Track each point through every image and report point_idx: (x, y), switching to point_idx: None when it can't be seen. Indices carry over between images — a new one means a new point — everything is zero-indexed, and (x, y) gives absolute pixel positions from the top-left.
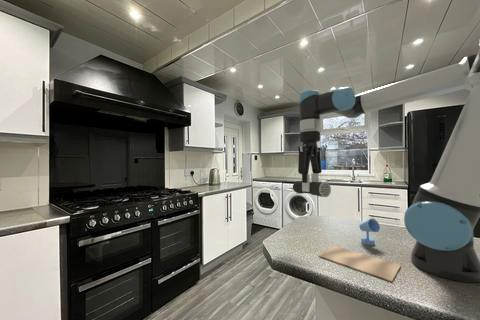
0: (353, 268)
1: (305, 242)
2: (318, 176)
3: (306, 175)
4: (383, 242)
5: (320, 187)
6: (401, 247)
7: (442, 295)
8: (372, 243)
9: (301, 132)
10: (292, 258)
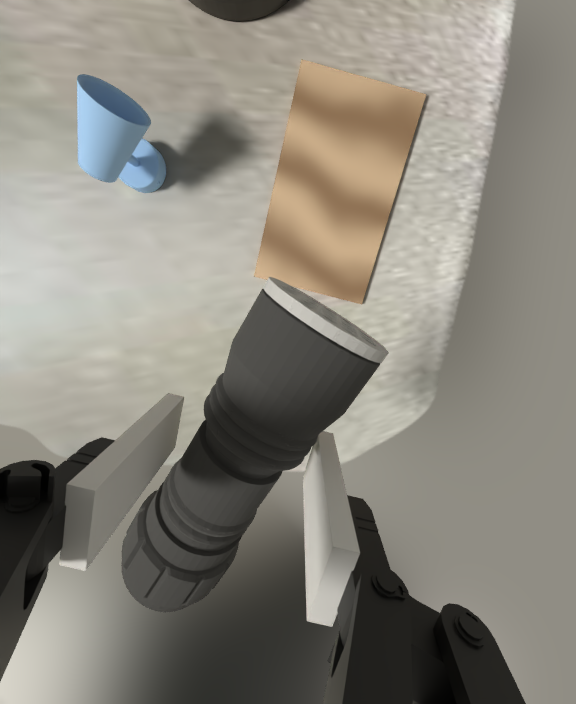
0: (393, 200)
1: None
2: (98, 459)
3: (363, 560)
4: None
5: (386, 351)
6: (114, 43)
7: None
8: (155, 148)
9: None
10: (408, 366)
